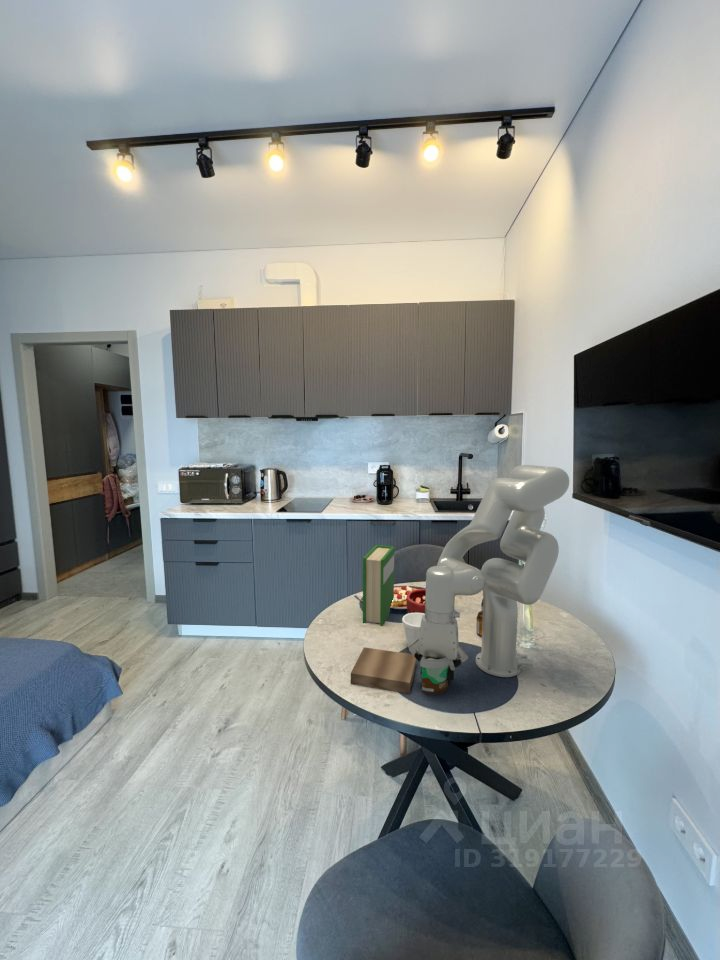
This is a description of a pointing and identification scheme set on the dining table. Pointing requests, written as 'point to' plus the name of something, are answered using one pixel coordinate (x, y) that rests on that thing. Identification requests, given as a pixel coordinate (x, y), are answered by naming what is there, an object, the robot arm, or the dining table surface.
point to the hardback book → (378, 583)
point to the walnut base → (384, 670)
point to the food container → (434, 675)
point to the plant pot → (413, 605)
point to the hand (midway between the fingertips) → (436, 678)
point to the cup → (412, 627)
